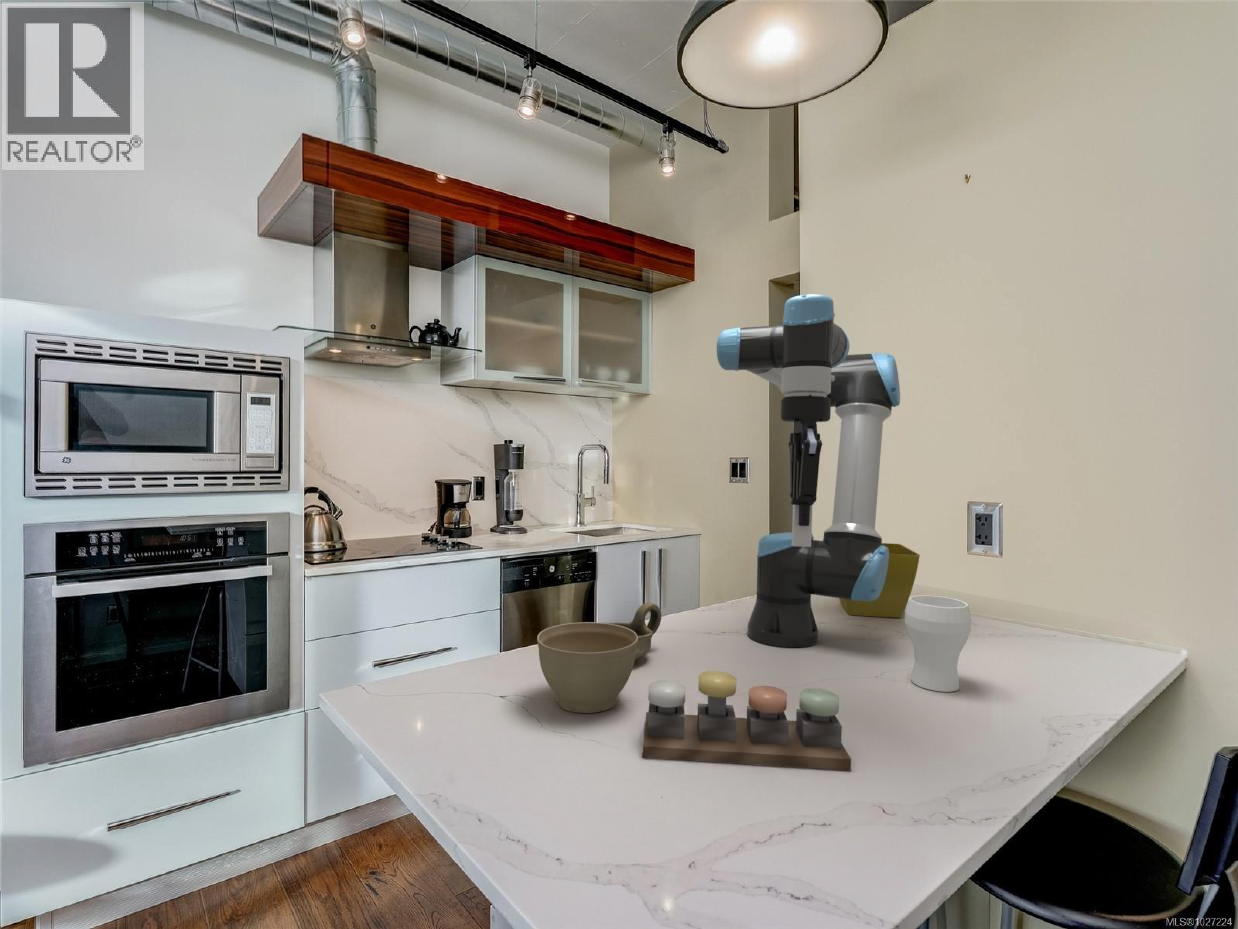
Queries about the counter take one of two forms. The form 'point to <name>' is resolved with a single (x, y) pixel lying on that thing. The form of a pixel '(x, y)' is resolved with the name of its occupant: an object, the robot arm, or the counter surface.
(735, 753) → the panel
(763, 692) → the terracotta button
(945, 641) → the cup
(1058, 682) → the counter surface
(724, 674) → the ochre button
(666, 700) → the grey button
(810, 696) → the sage button
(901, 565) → the flower pot
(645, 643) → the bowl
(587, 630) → the planter bowl
